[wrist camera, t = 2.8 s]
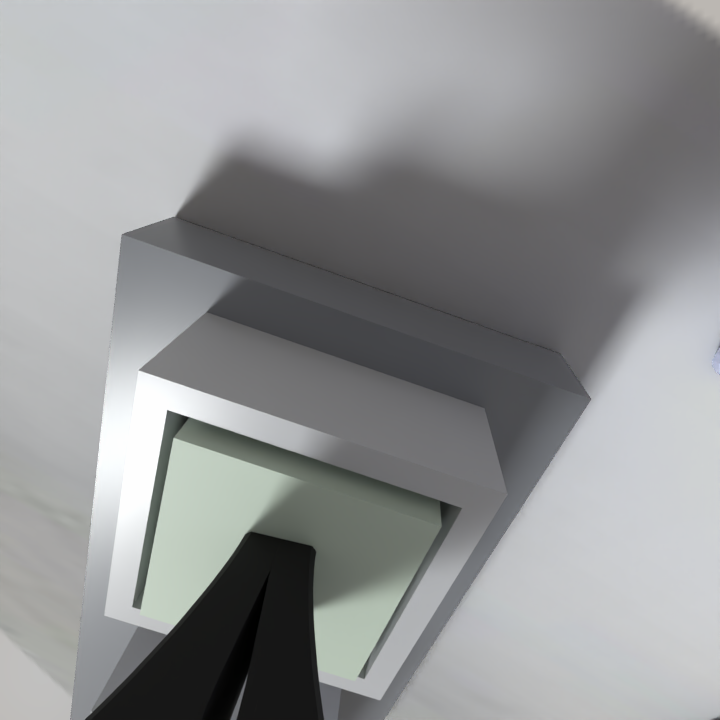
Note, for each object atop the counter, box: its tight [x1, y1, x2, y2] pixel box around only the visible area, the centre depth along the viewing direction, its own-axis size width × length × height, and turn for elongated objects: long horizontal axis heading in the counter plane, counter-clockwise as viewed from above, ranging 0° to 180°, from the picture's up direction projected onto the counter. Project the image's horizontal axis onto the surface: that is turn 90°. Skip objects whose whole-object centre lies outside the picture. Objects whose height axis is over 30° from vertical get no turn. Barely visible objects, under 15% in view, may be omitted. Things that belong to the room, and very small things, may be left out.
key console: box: [70, 217, 591, 720], centre depth 15 cm, size 11×20×6 cm, turn 161°
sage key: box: [140, 418, 442, 681], centre depth 10 cm, size 5×5×2 cm
